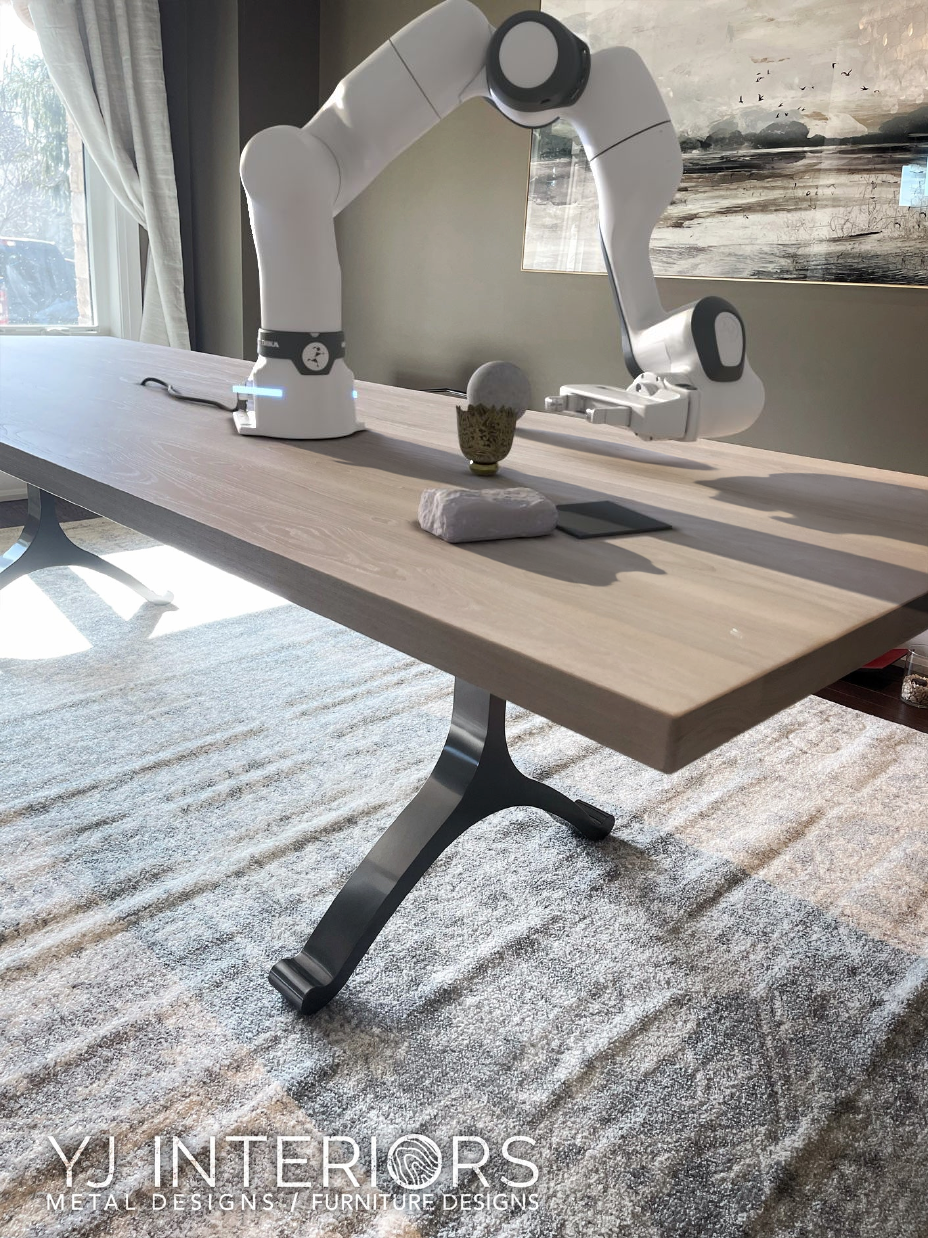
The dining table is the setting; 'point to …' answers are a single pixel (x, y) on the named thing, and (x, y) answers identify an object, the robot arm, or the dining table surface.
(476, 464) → the cup
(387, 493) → the dining table surface
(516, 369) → the decorative ball
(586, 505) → the slate coaster
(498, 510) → the stone block
